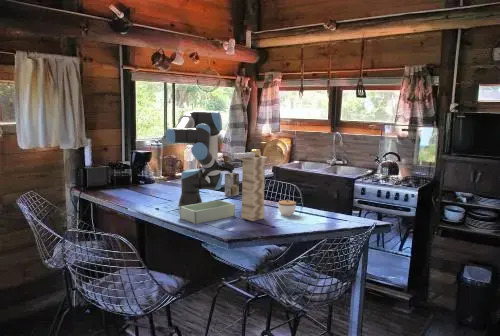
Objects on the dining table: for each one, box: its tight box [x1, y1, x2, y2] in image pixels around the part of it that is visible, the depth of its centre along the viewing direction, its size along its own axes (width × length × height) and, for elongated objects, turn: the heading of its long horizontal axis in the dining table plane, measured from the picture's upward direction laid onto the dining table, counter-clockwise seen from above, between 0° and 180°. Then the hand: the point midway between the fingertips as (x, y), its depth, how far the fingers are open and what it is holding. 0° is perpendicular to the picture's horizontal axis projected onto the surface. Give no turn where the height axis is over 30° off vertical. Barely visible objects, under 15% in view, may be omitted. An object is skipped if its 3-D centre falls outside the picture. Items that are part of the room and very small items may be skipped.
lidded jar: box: [277, 199, 297, 217], centre depth 250 cm, size 11×11×9 cm
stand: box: [238, 155, 270, 222], centre depth 238 cm, size 12×12×36 cm
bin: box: [179, 199, 236, 225], centre depth 240 cm, size 29×15×7 cm, turn 133°
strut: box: [233, 148, 262, 160], centre depth 232 cm, size 18×5×4 cm, turn 133°
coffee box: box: [224, 172, 240, 197], centre depth 303 cm, size 9×6×16 cm
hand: (220, 177), depth 233 cm, fingers open, 13 cm apart
